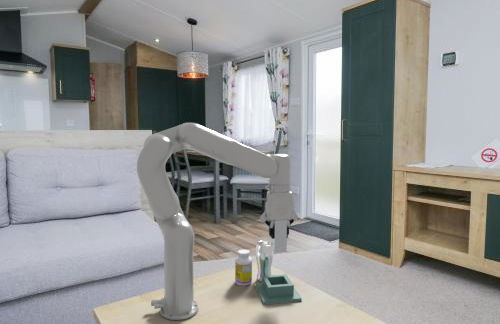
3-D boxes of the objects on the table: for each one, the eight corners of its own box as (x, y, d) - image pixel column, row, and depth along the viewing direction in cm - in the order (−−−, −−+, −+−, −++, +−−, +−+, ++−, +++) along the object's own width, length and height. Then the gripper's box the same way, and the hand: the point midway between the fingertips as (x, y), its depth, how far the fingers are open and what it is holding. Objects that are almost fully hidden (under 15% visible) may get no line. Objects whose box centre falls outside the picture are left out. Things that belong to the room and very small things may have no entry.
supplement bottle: (233, 279, 145) (233, 249, 144) (248, 277, 147) (249, 247, 146) (237, 287, 139) (237, 255, 137) (253, 285, 141) (254, 253, 139)
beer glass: (271, 283, 142) (272, 246, 141) (254, 281, 144) (254, 245, 142) (273, 276, 149) (274, 241, 147) (257, 274, 150) (257, 239, 149)
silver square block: (274, 252, 130) (274, 217, 128) (271, 248, 134) (271, 214, 132) (286, 251, 130) (286, 217, 129) (283, 247, 135) (283, 213, 133)
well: (263, 304, 126) (263, 290, 125) (255, 286, 140) (255, 274, 139) (301, 300, 129) (301, 287, 128) (289, 283, 142) (290, 271, 142)
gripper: (258, 191, 124) (258, 242, 126) (305, 189, 127) (304, 239, 130) (254, 187, 132) (254, 235, 134) (298, 185, 135) (297, 232, 137)
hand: (279, 236), depth 132 cm, fingers closed on silver square block, 4 cm apart
